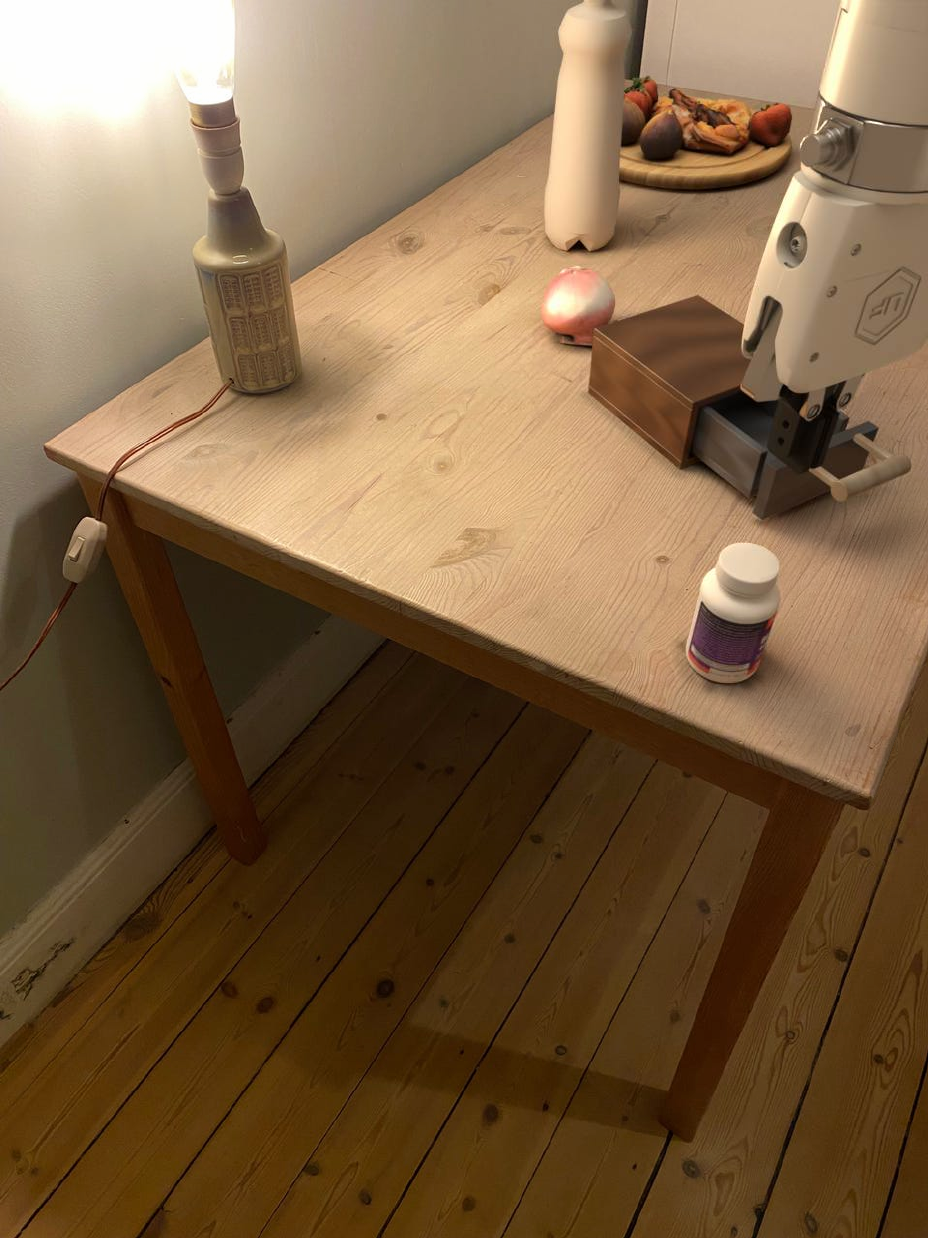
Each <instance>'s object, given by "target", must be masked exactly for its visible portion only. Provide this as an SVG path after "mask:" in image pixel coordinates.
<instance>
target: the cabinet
mask: <svg viewBox="0 0 928 1238" xmlns="http://www.w3.org/2000/svg"><path fill="white" fill-rule="evenodd" d="M743 329H744V323H743V322H741V321H739V320H738V319H737V318H735V317H734V316H731V315H730V314H729V313H727V312H725V311H724V310H723V309H721V308H719V307H717V306H716V305H715V304H713V303H711V302H710V301H708V300H707V299H705V298H704V297H702V296H700V295H699V294H697V295H696V294H695V295H694V296H691V297H687V298H684V299H681V300H677V301H675V302H672V303H668V304H665V305H663V306H662V305H661V306H659V307H656V308H653V309H650V310H647V311H643V312H641V313H637V314H633V315H630V316H628V317H624V318H622V319H617V321H616V320H615V322H614V321H612V322H609V323H608V324H606V325H603V326H600V327H597V328H595V329H594V337H593V346H591V347H592V349H591V356H590V357H591V359H590V367H589V368H590V369H589V378H588V389H587V393H588V394H589V395H590V396H592V397H593V398H595V399H596V400H597V401H598V402H599V403H600V404H601V405H603V406H604V407H605V408H606V409H608V411H610V412H611V413H612V414H614V415H615V416H616V417H617V418H618V419H619V420H621V421H622V422H623V423H624V424H626V425H627V426H628V427H629V428H630V429H631V430H633V431H634V432H635V433H637V435H639V437H641V438H642V439H643V440H645V441H646V442H647V443H648V444H649V445H651V447H653V448H654V449H655V450H656V451H658V452H659V453H660V454H661V455H662V456H663V457H665V458H666V459H667V460H668V461H670V462H671V463H672V464H673V465H675V466H676V467H677V468H678V469H680V470H681V469H684V468H686V467H689V466H692V465H694V464H697V463H699V462H703V461H702V460H700V459H699V458H698V457H697V456H695V455H694V454H693V453H692V452H690V448H691V443H692V438H693V433H694V428H695V423H696V419H697V414H698V409H699V407H702V406H704V405H707V404H710V403H712V402H715V401H718V400H720V399H723V398H726V397H728V396H731V395H734V394H736V393H739V392H742V390H741V388H740V386H741V383H742V381H743V378H744V376H745V374H746V371H747V369H748V367H749V365H750V362H751V360H752V359H747V358H745V357H744V356H743V354H742V336H743Z"/></svg>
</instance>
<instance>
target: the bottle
mask: <svg viewBox="0 0 928 1238" xmlns="http://www.w3.org/2000/svg"><path fill="white" fill-rule="evenodd" d="M557 32H558V34H557V35H558V41H559V45H560V46H559V47H560V48H561V50H562V53H563V54H562V55H563V56H562V60H561V64H560V67H559V72H558V76H557V83H556V94H555V105H554V115H553V126H552V136H551V145H550V147H551V148H550V157H549V166H548V167H549V168H548V178H547V181H546V185H545V189H544V206H543V207H544V208H543V218H544V229H545V230H544V231H545V232H544V233H545V235H546V236H547V238H548V240H549V242H550V243H551V245H553V246H554V247H555V248H556V249H558V250H562V251H566V252H567V251H569V250H570V249H571V248H572V247H573V246H574V245H576V243H578V241H580V242H581V243H582V244H583V246H584V247H585V248H586V249H587V251H588V252H593V251H596V250H600V249H602V248H604V247H605V246H606V245H608V243H609V241H610V240H611V239H612V238H613V236H614V234H615V228H616V227H615V226H616V222H617V220H618V214H619V205H620V198H621V197H620V196H621V188H620V179H619V167H620V151H621V135H622V119H623V103H624V94H625V92H624V90H625V85H626V84H625V83H626V75H625V62H624V54H625V52H626V51H627V49H628V47H629V46H630V45H629V44H630V41H631V37H632V34H633V28H632V26H631V23H630V19H629V16H628V13H627V11H626V10H625V9H624V8H622V7H620V6H618V5H616V4H615V3H613V2H612V0H583V2H581V3H579V4H577V5H574V6H572V7H570V8H568V9H567V11H566V12H565V15H564V17H563V19H562V21H561V23H560V26H559V28H558V30H557Z"/></svg>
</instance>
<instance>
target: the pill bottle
mask: <svg viewBox="0 0 928 1238" xmlns="http://www.w3.org/2000/svg"><path fill="white" fill-rule="evenodd" d="M780 571H781V563H780V561H779V559H778V557H777V556H776V555H775V554H774V552H772V551H771V550H769V549H768V548H766V547H764V546H762V545H761V544H756V543H751V542H736V543H732V544H730V545H728V546H726V547H725V548H723V549H722V551H721V552H720V553H719V557H718V559H717V562H716V565H715V567H713V568H712V569H710V570H709V571H708V572H707V573H706V574H704V577H703V579H702V581H701V584H700V586H699V590H698V594H697V598H696V603H695V607H694V610H693V614H692V617H691V623H690V627H689V630H688V635H687V638H686V644H685V656H686V660H687V662H688V663H689V666H691V668H692V669H693V670H694V671H695V672H696V673H697V674H699V675H700V676H701V677H703V678H704V679H707V680H709V681H712V682H716V683H720V684H735V683H739V682H743V681H746V680H747V679H749V678H750V677H751V676H753V675H754V674H755V672H756V671H758V668H759V666H760V663H761V660H762V657H763V655H764V651H765V649H766V646H767V643H768V640H769V637H770V634H771V631H772V628H773V625H774V622H775V619H776V616H777V613H778V611H779V608H780V603H781V592H780V588H779V586H778V584H777V582H778V577H779V574H780Z"/></svg>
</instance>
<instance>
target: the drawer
mask: <svg viewBox="0 0 928 1238" xmlns="http://www.w3.org/2000/svg"><path fill="white" fill-rule="evenodd" d="M778 403H779V400H774V401H762V402H756V401H755V400H754V399H752V398H751V397H750V396H748V395H747V394H745V393H744V392H743V391H742V392H739V393H736V394H734V395H731V396H728V397H726V398H723V399H720V400H718V401H715V402H712V403H710V404H707V405H704V406H702V407H699V409H698V414H697V419H696V423H695V428H694V433H693V438H692V443H691V448H690V452H692V453H693V454H694V455H695V456H697V457H698V458H699V459H700V460H702V461H701V462H702V463H704V464H705V465H706V466H707V467H709V468H710V469H711V470H712V471H714V472H715V473H716V474H718V475H719V477H721V478H722V479H724V480H725V481H726V482H728V484H730V485H731V486H732V487H734V488H735V489H736V490H737V491H739V492H740V493H741V494H742V495H743V496H745V497H746V498H747V499H751V498H754V497H756V499H755V501H754V506H753V510H752V514H753V515H755V516H756V517H757V518H758V519H759V520H760V521H764V520H766V519H769V518H772V517H773V516H775V515H778V514H780V513H782V512H785V511H787V510H790V509H791V508H793V507H796V506H798V505H800V504H803V503H805V502H808V501H810V500H812V499H814V498H816V497H819V496H822V495H823V494H826V493H828V492H830V494H831V496H832V497H833V499H834V500H836V501H837V502H838V503H839V502H840V503H844V502H846V501H849V500H850V499H853V498H855V497H857V496H859V495H863V494H864V493H866V492H868V491H871V490H873V489H875V488H877V487H880V486H882V485H884V484H886V483H888V482H891V481H893V480H895V479H898V478H900V477H902V476H904V475H907V474H908V473H909V472H910V471H911V470H912V460H911V459H910V457H909V456H908V455H906V454H904V453H897V454H895V455H893V454H892V453H890V452H889V451H887V450H886V449H884V448H883V447H881V446H880V445H878V444H877V443H875V439H876V436H877V434H878V431H879V429H880V427H879V426H877V425H875V424H874V423H873V422H871V421H869V420H867V421H864V422H862V423H859V424H857V425H854V426H852V427H850V428H848V425H849V422H850V419H851V418H850V416H849V415H847V414H845V412H843V411H841V410H839V409H837V412H839V413H840V415H839V418H838V421H837V424H836V427H835V429H834V432H833V435H832V438H831V441H830V444H829V447H828V450H827V453H826V456H825V459H824V462H823V464H822V466H820V467H818V468H815V469H811V468H810V469H809V471H807V472H805V473H802V474H797V473H796V472H795V471H793V470H792V469H791V468H789V467H788V466H787V465H786V464H784V463H783V462H782V461H780V460H779V459H778V458H777V457H775V456H774V455H773V454H772V453H770V452H769V451H768V449H767V442H768V439H769V435H770V432H771V428H772V424H773V421H774V417H775V414H776V410H777V406H778ZM870 454H872V455H873V456H874V457H876V458H877V459H879V460H880V461H879V462H877V463H876V462H875V463H874V464H872V465H870V466H868V467H865V465H866V463H867V460H868V457H869V455H870ZM864 467H865V468H864Z"/></svg>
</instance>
